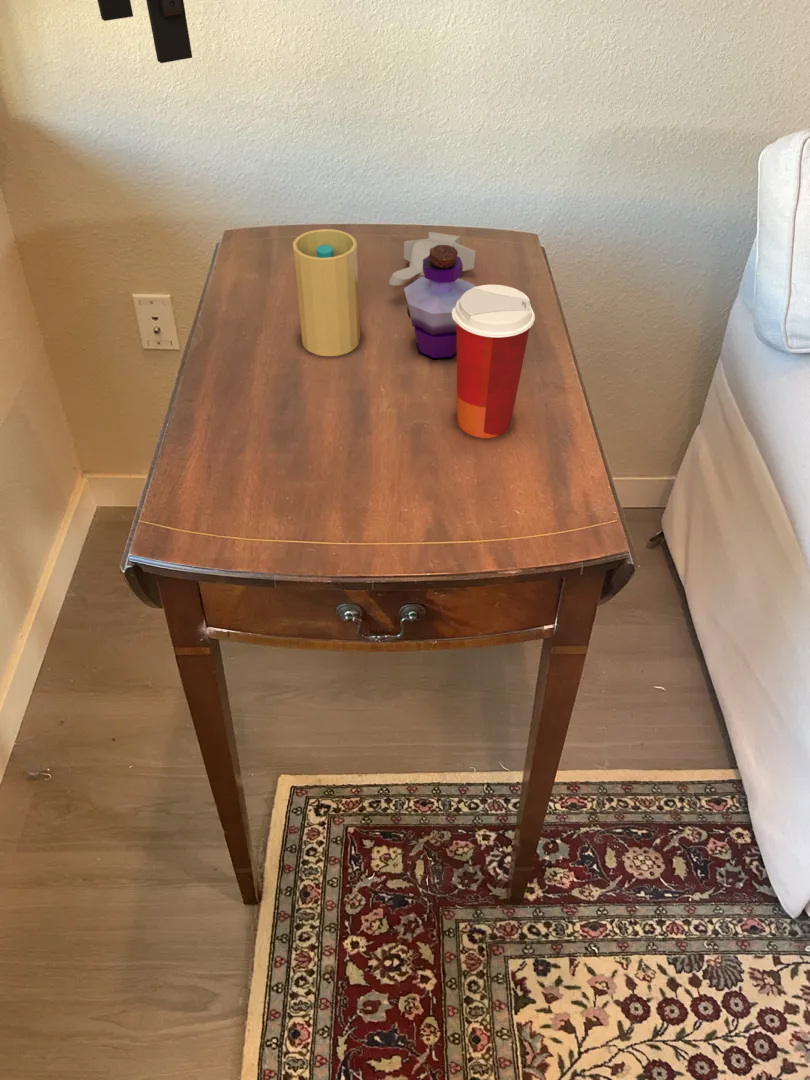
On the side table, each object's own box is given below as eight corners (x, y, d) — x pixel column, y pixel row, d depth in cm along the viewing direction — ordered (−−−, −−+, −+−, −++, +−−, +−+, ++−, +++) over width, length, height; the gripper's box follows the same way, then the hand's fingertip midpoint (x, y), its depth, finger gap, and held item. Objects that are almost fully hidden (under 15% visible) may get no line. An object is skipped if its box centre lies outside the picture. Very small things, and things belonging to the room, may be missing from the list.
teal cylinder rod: (327, 342, 97) (321, 254, 89) (320, 335, 98) (313, 247, 90) (341, 338, 98) (336, 249, 90) (333, 331, 99) (328, 243, 91)
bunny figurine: (484, 229, 109) (458, 271, 98) (480, 267, 113) (454, 312, 102) (414, 219, 111) (381, 259, 100) (413, 257, 114) (380, 300, 103)
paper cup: (520, 401, 90) (536, 283, 80) (520, 447, 85) (536, 327, 75) (448, 397, 91) (454, 279, 81) (443, 442, 86) (450, 321, 75)
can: (319, 362, 95) (311, 265, 86) (292, 335, 99) (282, 238, 90) (370, 345, 98) (368, 248, 89) (341, 318, 102) (336, 223, 93)
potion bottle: (412, 322, 101) (414, 227, 93) (482, 332, 100) (490, 237, 91) (393, 361, 95) (393, 264, 87) (467, 373, 94) (475, 275, 85)
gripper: (202, -313, 51) (247, 71, 66) (73, -319, 65) (135, -3, 80) (80, -313, 48) (157, 88, 63) (-26, -320, 62) (57, 8, 77)
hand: (144, 38), depth 72 cm, fingers open, 13 cm apart
